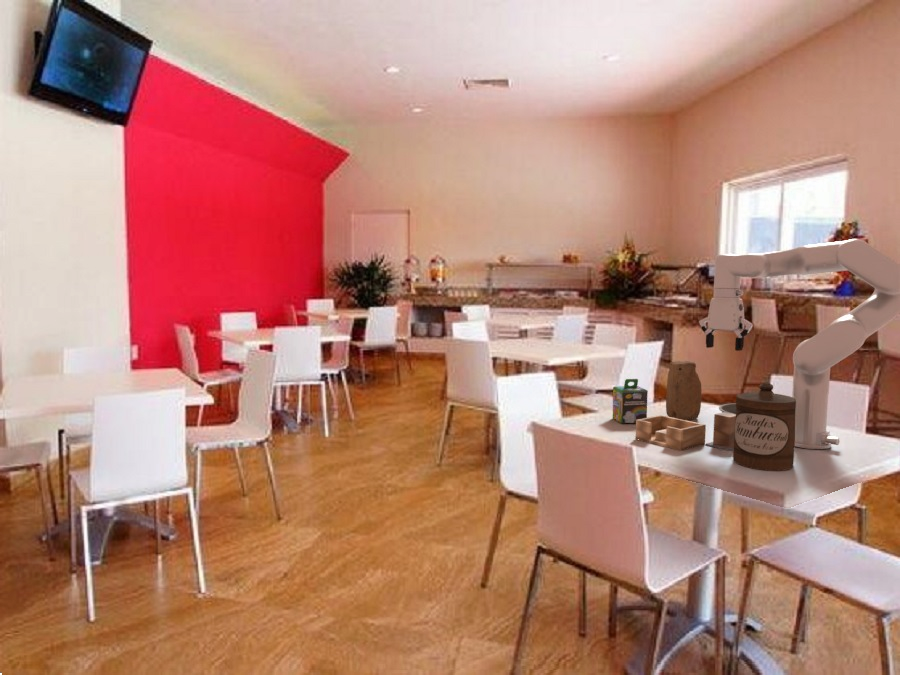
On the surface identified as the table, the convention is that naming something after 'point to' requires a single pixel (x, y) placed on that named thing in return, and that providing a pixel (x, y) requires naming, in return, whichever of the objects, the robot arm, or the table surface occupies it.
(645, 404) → the chalk box
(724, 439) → the walnut block
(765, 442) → the wooden container
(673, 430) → the oak crate
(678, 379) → the brown tall rounded lump
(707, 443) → the grey pad
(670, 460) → the table surface
